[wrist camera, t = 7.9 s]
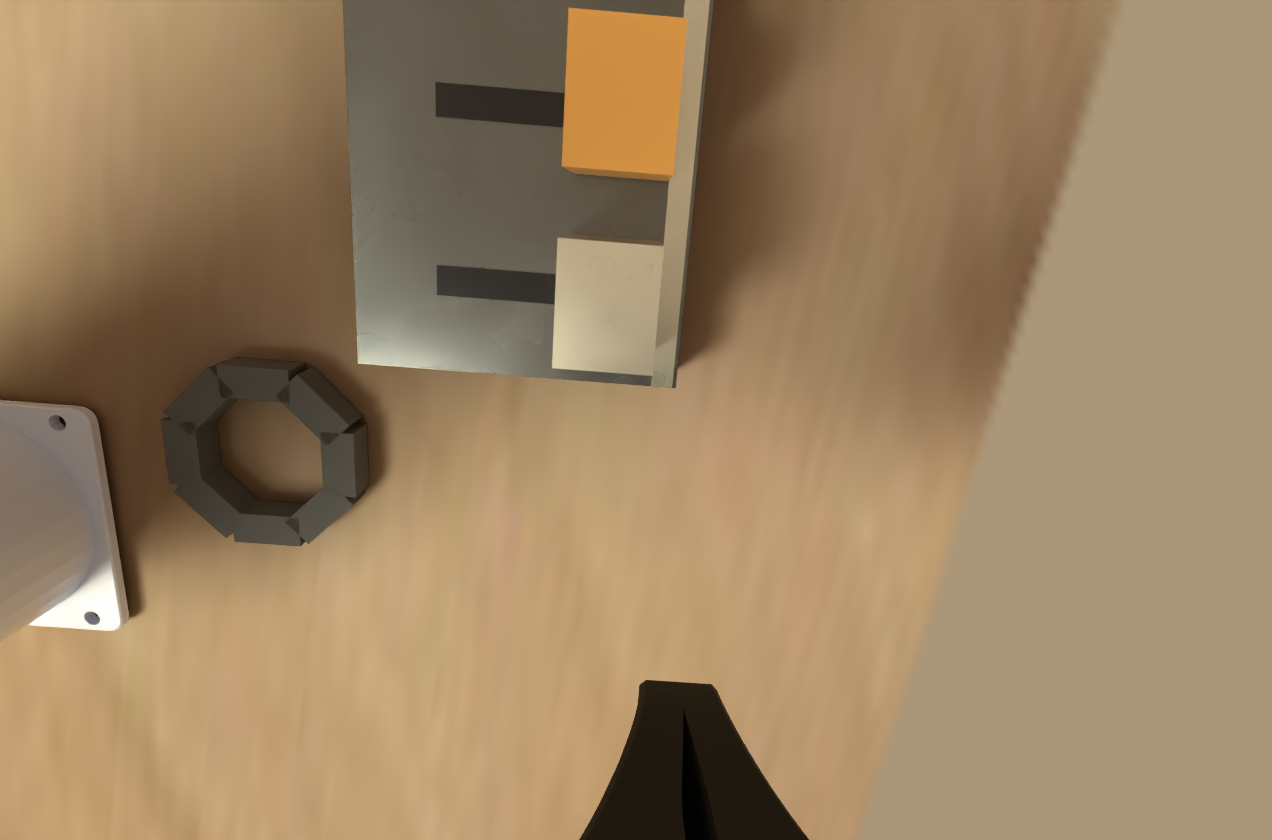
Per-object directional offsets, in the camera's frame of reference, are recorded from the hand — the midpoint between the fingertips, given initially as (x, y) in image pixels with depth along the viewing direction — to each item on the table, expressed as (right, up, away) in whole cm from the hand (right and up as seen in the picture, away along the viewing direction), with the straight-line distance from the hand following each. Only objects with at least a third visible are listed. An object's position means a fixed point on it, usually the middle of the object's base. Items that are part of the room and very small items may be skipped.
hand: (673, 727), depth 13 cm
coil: (-12, +5, +9) cm, 16 cm away
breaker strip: (-4, +14, +7) cm, 16 cm away
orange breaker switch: (-1, +13, +4) cm, 14 cm away
